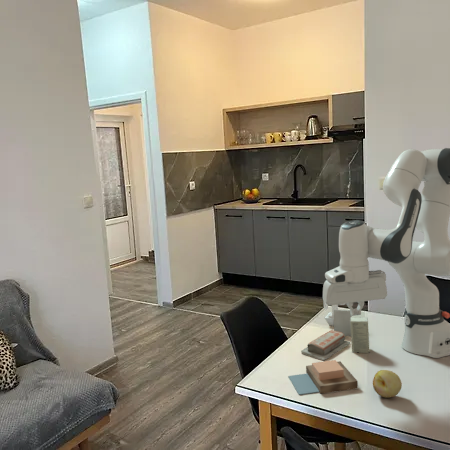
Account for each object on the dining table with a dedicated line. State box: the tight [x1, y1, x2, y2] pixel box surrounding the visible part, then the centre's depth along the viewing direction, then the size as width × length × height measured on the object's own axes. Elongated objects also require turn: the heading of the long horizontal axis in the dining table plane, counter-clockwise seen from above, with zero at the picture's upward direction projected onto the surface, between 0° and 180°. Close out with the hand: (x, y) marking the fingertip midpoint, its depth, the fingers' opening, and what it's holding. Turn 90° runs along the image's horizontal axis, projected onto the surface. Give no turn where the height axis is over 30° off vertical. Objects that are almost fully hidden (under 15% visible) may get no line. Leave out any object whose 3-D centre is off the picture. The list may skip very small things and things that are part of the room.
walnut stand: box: [305, 360, 359, 395], centre depth 146 cm, size 12×14×2 cm
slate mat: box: [288, 373, 320, 396], centre depth 145 cm, size 8×12×1 cm, turn 8°
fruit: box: [372, 369, 403, 398], centre depth 134 cm, size 8×8×8 cm
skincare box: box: [350, 316, 370, 354], centre depth 165 cm, size 6×4×12 cm
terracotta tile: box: [311, 359, 344, 380], centre depth 146 cm, size 8×7×2 cm
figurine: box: [323, 301, 346, 327], centre depth 192 cm, size 7×9×15 cm
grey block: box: [333, 309, 353, 337], centre depth 181 cm, size 4×7×10 cm, turn 71°
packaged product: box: [301, 329, 351, 362], centre depth 170 cm, size 18×5×10 cm
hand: (355, 314), depth 144 cm, fingers closed
